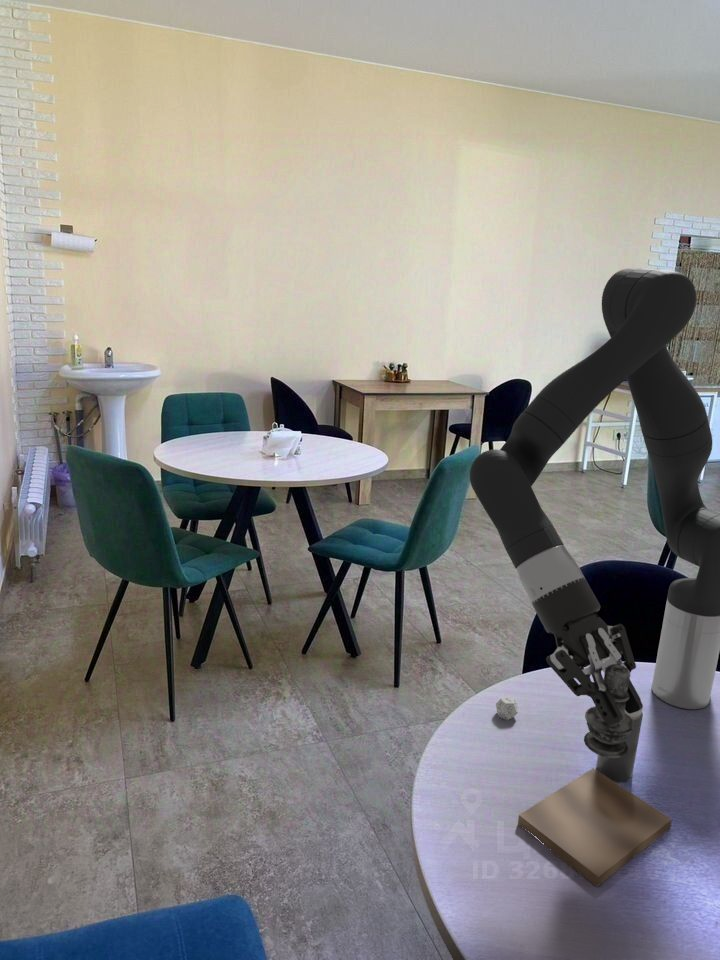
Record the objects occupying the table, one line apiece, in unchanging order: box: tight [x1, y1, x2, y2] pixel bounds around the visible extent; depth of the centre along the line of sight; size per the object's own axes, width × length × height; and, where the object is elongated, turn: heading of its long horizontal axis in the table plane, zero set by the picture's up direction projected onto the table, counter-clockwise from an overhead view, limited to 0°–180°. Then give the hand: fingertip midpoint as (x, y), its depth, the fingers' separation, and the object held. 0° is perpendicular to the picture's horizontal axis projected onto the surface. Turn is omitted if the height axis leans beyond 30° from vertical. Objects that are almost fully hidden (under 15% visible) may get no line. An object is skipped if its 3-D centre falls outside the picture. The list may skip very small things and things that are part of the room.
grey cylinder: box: [595, 703, 644, 783], centre depth 102 cm, size 5×5×11 cm
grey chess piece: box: [583, 660, 635, 758], centre depth 87 cm, size 6×6×12 cm
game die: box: [495, 695, 519, 721], centre depth 115 cm, size 4×4×3 cm
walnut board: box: [517, 767, 673, 888], centre depth 92 cm, size 16×12×2 cm
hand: (626, 716), depth 86 cm, fingers closed on grey chess piece, 3 cm apart
